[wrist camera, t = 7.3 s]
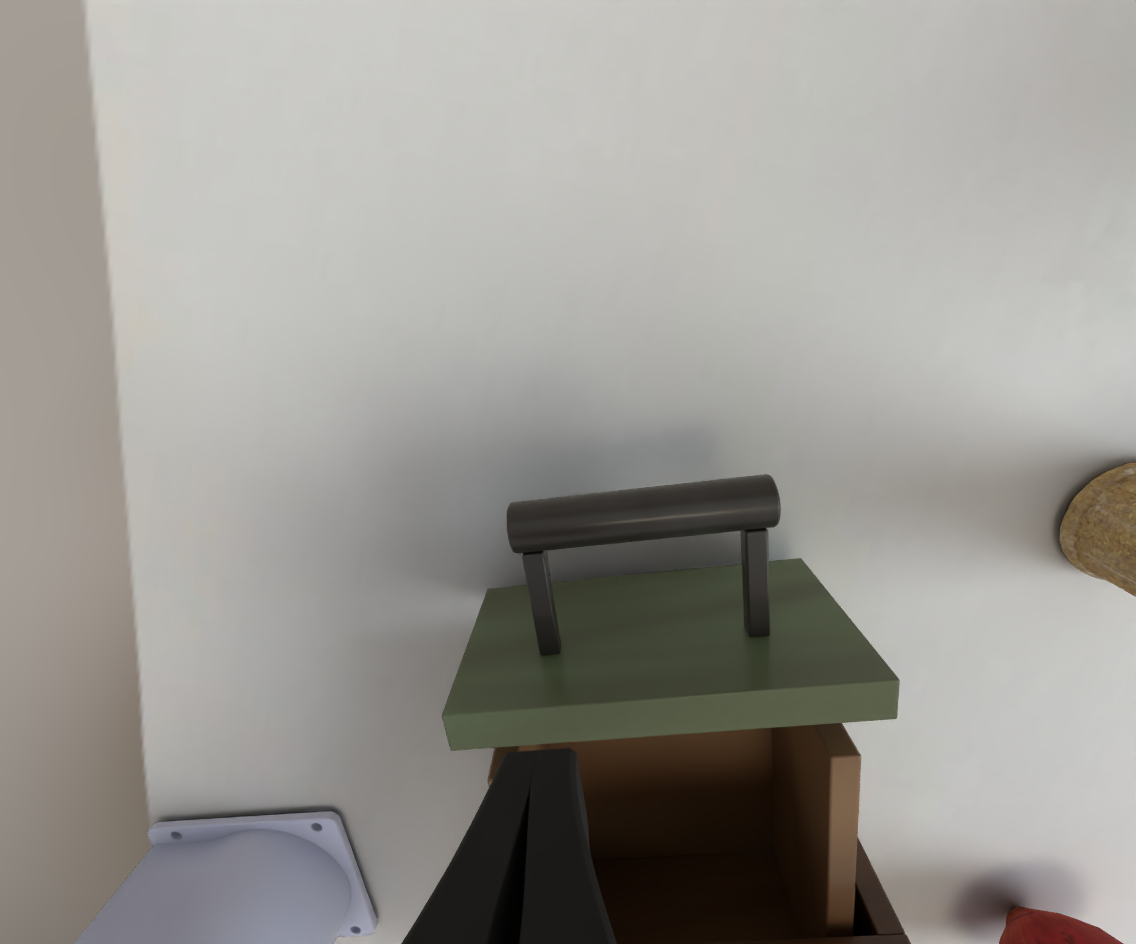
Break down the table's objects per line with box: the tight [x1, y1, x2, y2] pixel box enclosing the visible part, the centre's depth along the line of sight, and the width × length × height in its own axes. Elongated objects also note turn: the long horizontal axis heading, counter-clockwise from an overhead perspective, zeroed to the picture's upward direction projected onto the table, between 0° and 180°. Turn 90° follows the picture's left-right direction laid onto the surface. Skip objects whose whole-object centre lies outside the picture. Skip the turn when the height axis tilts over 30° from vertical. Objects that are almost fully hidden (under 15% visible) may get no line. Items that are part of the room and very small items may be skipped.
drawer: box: [442, 474, 899, 944], centre depth 17 cm, size 18×11×6 cm, turn 8°
